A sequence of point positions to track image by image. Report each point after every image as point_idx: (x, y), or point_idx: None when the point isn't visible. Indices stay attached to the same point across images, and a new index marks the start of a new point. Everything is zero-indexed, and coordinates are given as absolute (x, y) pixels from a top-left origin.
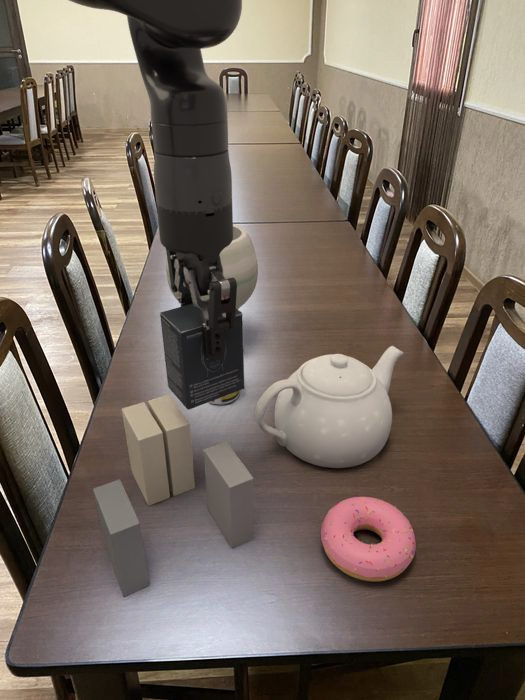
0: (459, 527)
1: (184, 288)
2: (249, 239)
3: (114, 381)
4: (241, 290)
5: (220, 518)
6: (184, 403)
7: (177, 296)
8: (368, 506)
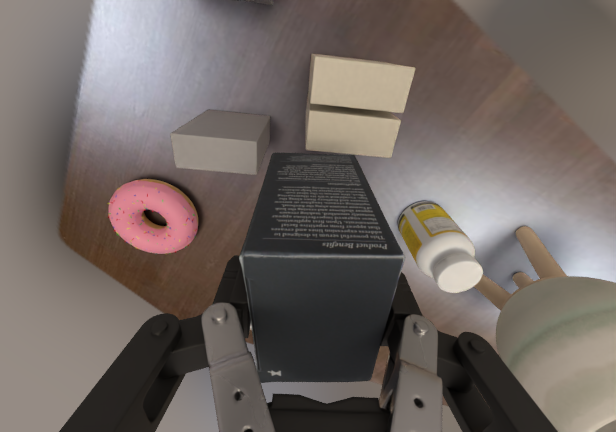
0: (156, 272)
1: (392, 381)
2: None
3: (561, 123)
4: (505, 349)
5: (229, 116)
6: (281, 154)
7: (433, 330)
8: (170, 238)
